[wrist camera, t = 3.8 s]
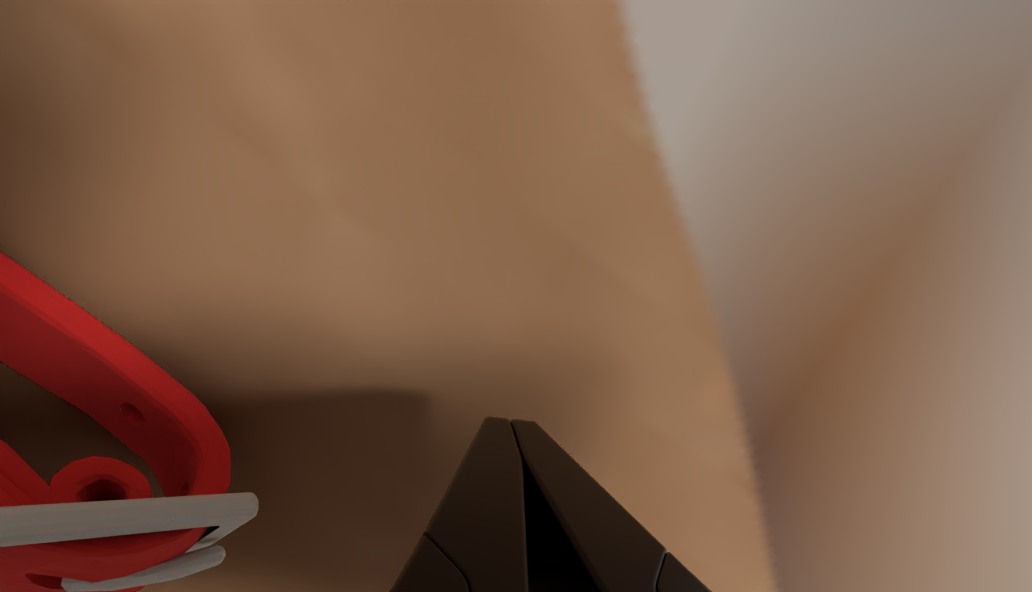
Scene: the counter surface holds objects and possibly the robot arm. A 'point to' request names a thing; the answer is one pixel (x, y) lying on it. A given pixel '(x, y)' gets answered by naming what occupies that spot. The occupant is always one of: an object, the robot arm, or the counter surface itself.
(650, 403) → the counter surface
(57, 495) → the tracker holder
